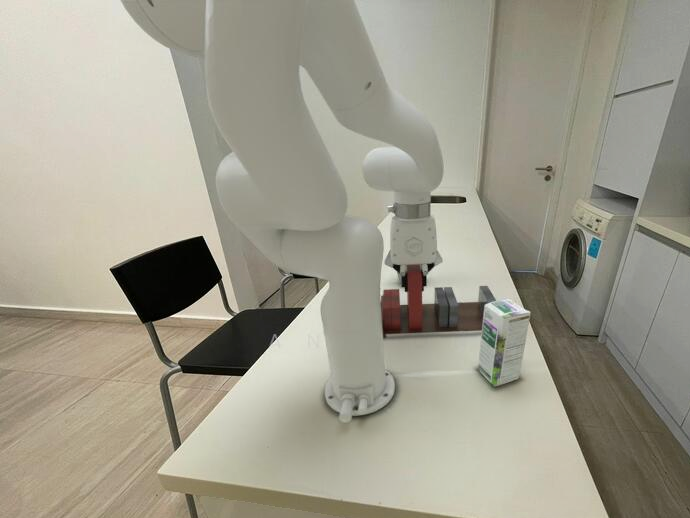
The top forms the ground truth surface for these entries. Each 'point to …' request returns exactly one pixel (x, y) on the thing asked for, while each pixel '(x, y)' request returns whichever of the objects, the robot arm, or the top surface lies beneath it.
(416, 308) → the red book
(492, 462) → the top surface
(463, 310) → the book rack
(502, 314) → the syrup box
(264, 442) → the top surface
